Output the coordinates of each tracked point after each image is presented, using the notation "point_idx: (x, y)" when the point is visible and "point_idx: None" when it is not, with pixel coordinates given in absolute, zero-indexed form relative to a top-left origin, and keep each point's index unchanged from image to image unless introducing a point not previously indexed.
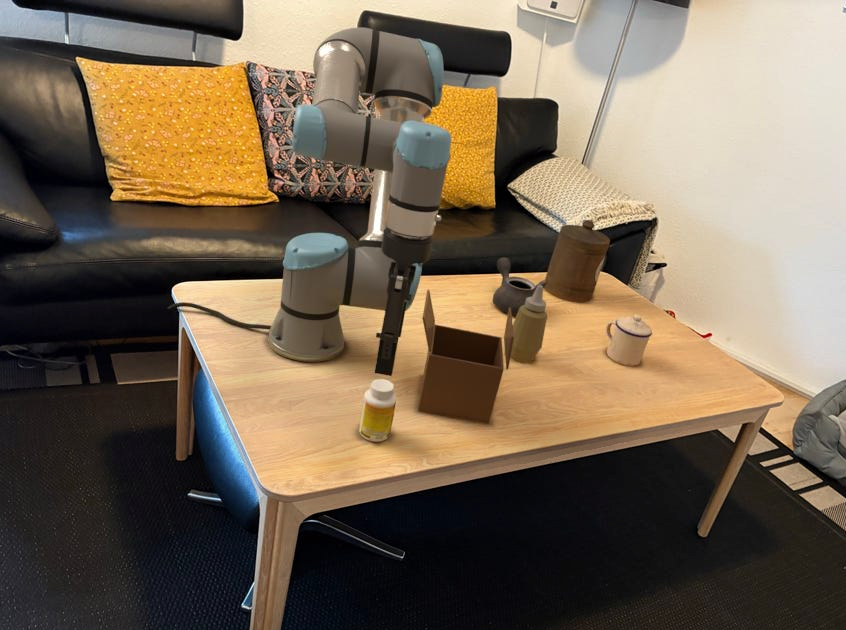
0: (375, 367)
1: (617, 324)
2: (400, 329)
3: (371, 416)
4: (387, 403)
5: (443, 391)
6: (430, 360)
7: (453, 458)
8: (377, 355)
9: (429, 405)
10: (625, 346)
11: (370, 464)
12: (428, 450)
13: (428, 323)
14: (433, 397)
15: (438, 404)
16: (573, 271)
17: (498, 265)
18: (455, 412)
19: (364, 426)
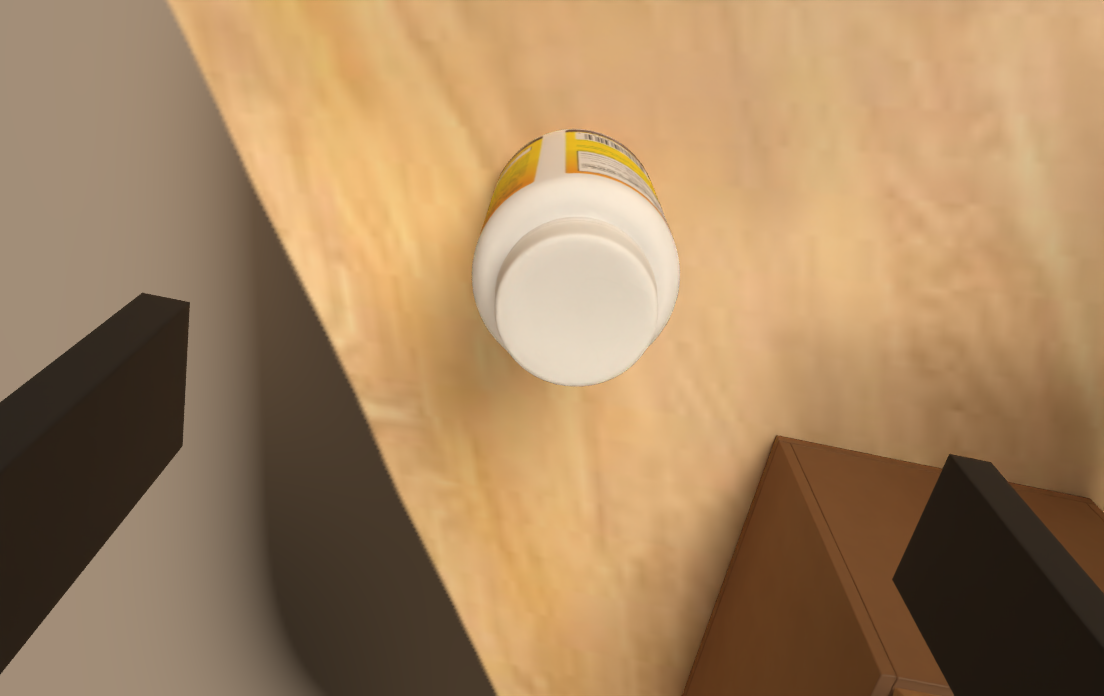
0: (110, 318)
1: None
2: (927, 627)
3: (491, 205)
4: (484, 317)
5: (774, 607)
6: (863, 655)
7: (422, 528)
8: (28, 381)
9: (770, 501)
10: None
11: (325, 169)
12: (466, 438)
13: None
14: (777, 541)
15: (760, 545)
16: None
17: None
18: (727, 599)
19: (520, 158)
